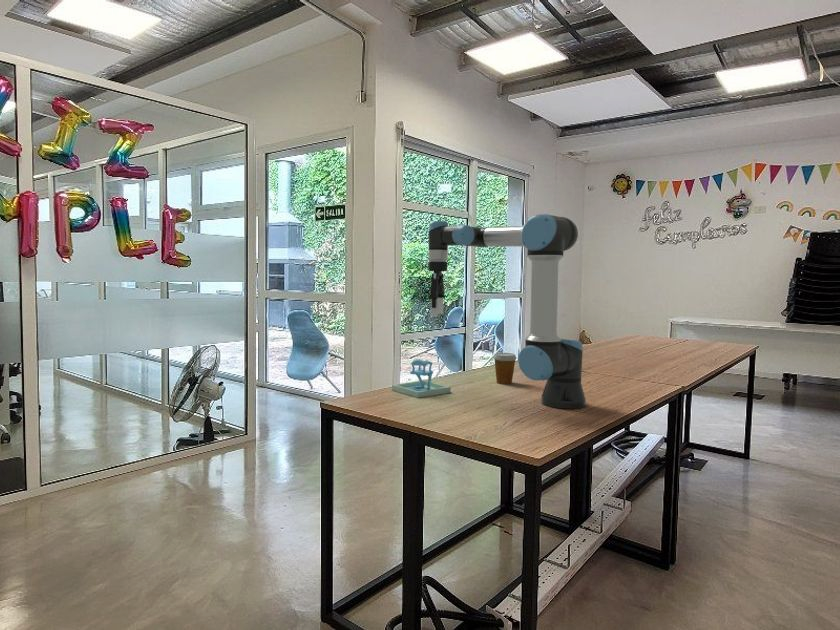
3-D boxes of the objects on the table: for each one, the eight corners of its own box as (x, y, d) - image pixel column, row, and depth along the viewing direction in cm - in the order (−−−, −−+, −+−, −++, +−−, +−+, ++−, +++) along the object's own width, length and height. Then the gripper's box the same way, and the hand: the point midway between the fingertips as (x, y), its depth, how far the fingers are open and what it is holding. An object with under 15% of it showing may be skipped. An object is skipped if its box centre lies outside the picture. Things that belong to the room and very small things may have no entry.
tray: (424, 385, 224) (424, 380, 223) (450, 392, 211) (450, 386, 211) (391, 390, 214) (391, 384, 213) (417, 397, 201) (417, 392, 201)
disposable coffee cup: (490, 380, 236) (491, 352, 235) (512, 380, 237) (513, 352, 236) (495, 385, 226) (496, 356, 225) (518, 384, 227) (519, 356, 226)
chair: (435, 389, 214) (436, 358, 213) (424, 392, 207) (425, 361, 206) (418, 386, 218) (418, 356, 217) (407, 390, 211) (407, 359, 210)
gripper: (433, 261, 230) (433, 312, 232) (422, 260, 206) (421, 317, 207) (451, 261, 229) (450, 313, 230) (442, 260, 204) (441, 317, 206)
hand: (437, 315), depth 219 cm, fingers open, 13 cm apart
